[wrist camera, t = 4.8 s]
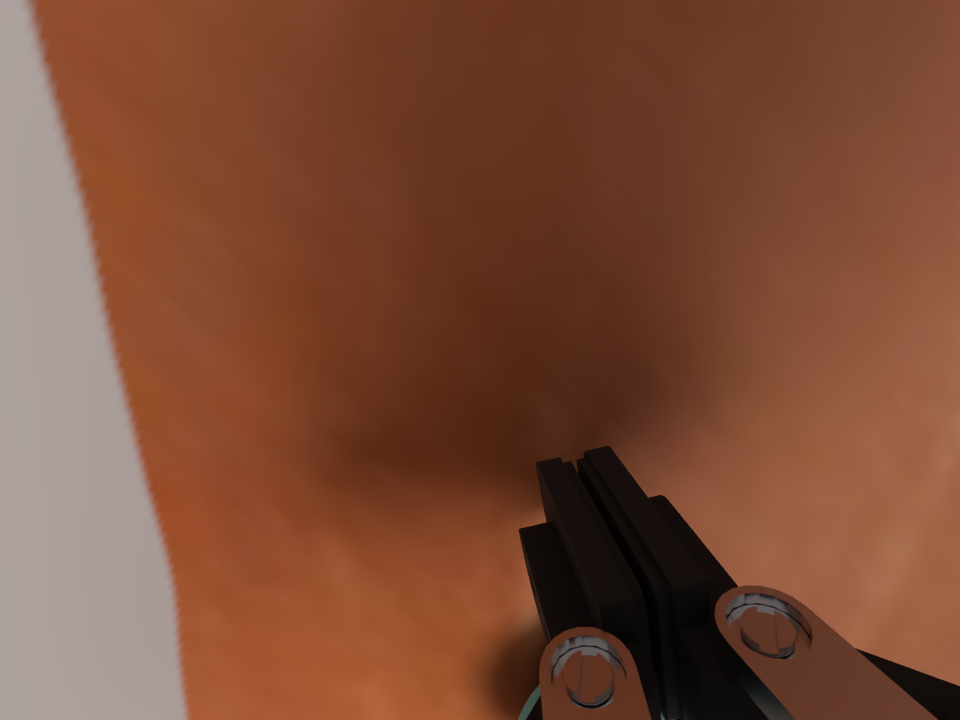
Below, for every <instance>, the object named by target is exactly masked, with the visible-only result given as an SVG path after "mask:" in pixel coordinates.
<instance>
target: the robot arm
mask: <svg viewBox="0 0 960 720" xmlns="http://www.w3.org/2000/svg"><path fill="white" fill-rule="evenodd" d="M536 467H537V473H538V479H539V484H540V489H541V495H542V500H543V506H544V511H545V517H546V523H542V524H538V525H534V526H530V527H526V528H521V529H519V534H520V539H521V544H522V549H523V553H524V558H525V563H526V567H527V571H528V575H529V580H530V584H531V588H532V591H533V595H534V599H535V603H536V606H537V610H538V614H539V617H540V621H541V625H542V628H543V632H544V636H545V639H546V643H547V646H546V648H545V650H544V652H543V655H542V657H541V660H540V670H539V678H540V690H541V695H540V696H539V698H538V700H537V701H536V703H535V705H534V707H533V708H532V710H531V712H530V713H529V715H528V717H527V718H526V720H661V713H662V715H663V717H664V719H665V720H673V719H675V720H960V686H957V685H955V684H952V683H949V682H946V681H944V680H941V679H938V678H935V677H933V676H930V675H927V674H924V673H922V672H919V671H916V670H913V669H911V668H908V667H905V666H902V665H900V664H897V663H894V662H891V661H889V660H886V659H883V658H880V657H878V656H875V655H872V654H869V653H867V652H864V651H861V650H858V649H856V648H854V647H853V646H852V645H850V644H849V643H848V642H847V641H846V640H845V639H843V638H842V637H841V636H840V635H839V634H838V633H837V632H835V631H834V630H833V629H832V628H831V627H830V626H828V625H827V624H826V623H825V622H824V621H823V620H821V619H820V618H819V617H818V616H817V615H816V614H814V613H813V612H812V611H811V610H810V609H809V608H807V607H806V606H805V605H803V604H802V603H801V602H799V601H798V600H796V599H795V598H793V597H792V596H790V595H787V594H785V593H783V592H781V591H778V590H776V589H772V588H767V587H763V586H741V587H738V586H737V584H736V583H735V582H734V581H733V579H732V578H731V577H730V576H729V575H728V573H727V572H726V571H725V570H724V568H723V567H722V566H721V565H720V563H719V562H718V561H717V560H716V558H715V557H714V556H713V555H712V554H711V552H710V551H709V550H708V549H707V547H706V546H705V545H704V544H703V542H702V541H701V540H700V539H699V537H698V536H697V535H696V534H695V532H694V531H693V530H692V529H691V528H690V526H689V525H688V524H687V523H686V521H685V520H684V519H683V518H682V516H681V515H680V514H679V513H678V511H677V510H676V509H675V508H674V507H673V505H672V504H671V503H670V502H669V500H668V499H667V498H666V497H665V496H662V495H658V496H654V497H650V498H648V497H647V496H646V494H645V493H644V492H643V490H642V489H641V488H640V486H639V485H638V484H637V482H636V481H635V480H634V478H633V477H632V476H631V474H630V473H629V472H628V470H627V469H626V468H625V466H624V465H623V464H622V462H621V461H620V460H619V458H618V457H617V456H616V454H615V453H614V452H613V450H612V449H611V448H610V447H609V446H604V447H600V448H596V449H592V450H588V451H585V452H584V458H582V459H578V460H577V468H578V473H577V471H576V469H575V468H574V466H573V464H572V462H571V461H569V462H565V463H563V461H562V460H561V458H560V457H558V458H554V459H549V460H545V461H541V462H537V463H536Z"/></svg>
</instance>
